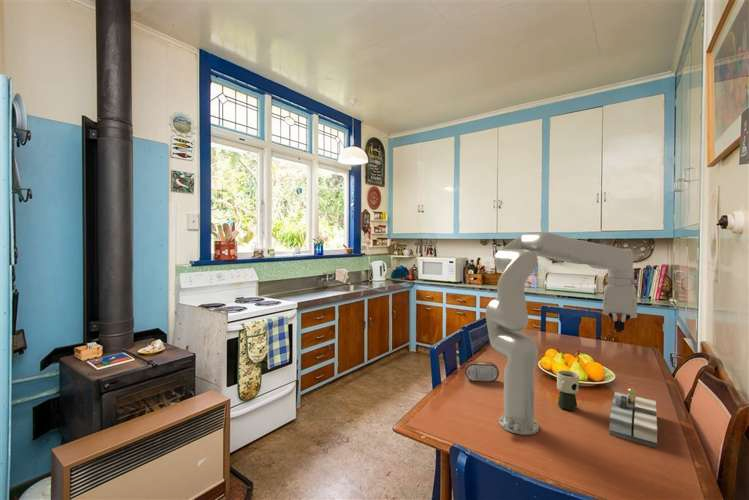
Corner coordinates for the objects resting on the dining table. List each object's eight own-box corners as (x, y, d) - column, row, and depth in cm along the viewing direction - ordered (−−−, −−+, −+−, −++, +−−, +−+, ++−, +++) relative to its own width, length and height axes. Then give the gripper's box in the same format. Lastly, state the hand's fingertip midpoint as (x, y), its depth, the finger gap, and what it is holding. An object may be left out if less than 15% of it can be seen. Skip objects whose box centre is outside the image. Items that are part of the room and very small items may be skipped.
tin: (497, 380, 158) (497, 361, 158) (499, 383, 155) (499, 364, 155) (463, 379, 160) (463, 360, 159) (464, 381, 156) (464, 363, 156)
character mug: (572, 416, 125) (573, 380, 125) (551, 409, 131) (552, 374, 130) (582, 406, 133) (583, 372, 132) (562, 400, 138) (562, 367, 138)
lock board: (656, 447, 106) (657, 420, 106) (609, 434, 114) (609, 409, 113) (655, 416, 125) (655, 392, 125) (614, 406, 133) (615, 384, 132)
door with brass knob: (635, 409, 118) (636, 390, 118) (615, 404, 122) (615, 386, 121) (635, 406, 120) (636, 387, 120) (615, 401, 123) (616, 383, 123)
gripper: (645, 282, 127) (644, 332, 128) (597, 279, 136) (596, 326, 137) (645, 284, 121) (644, 337, 122) (594, 281, 131) (594, 330, 131)
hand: (619, 331), depth 129 cm, fingers closed
